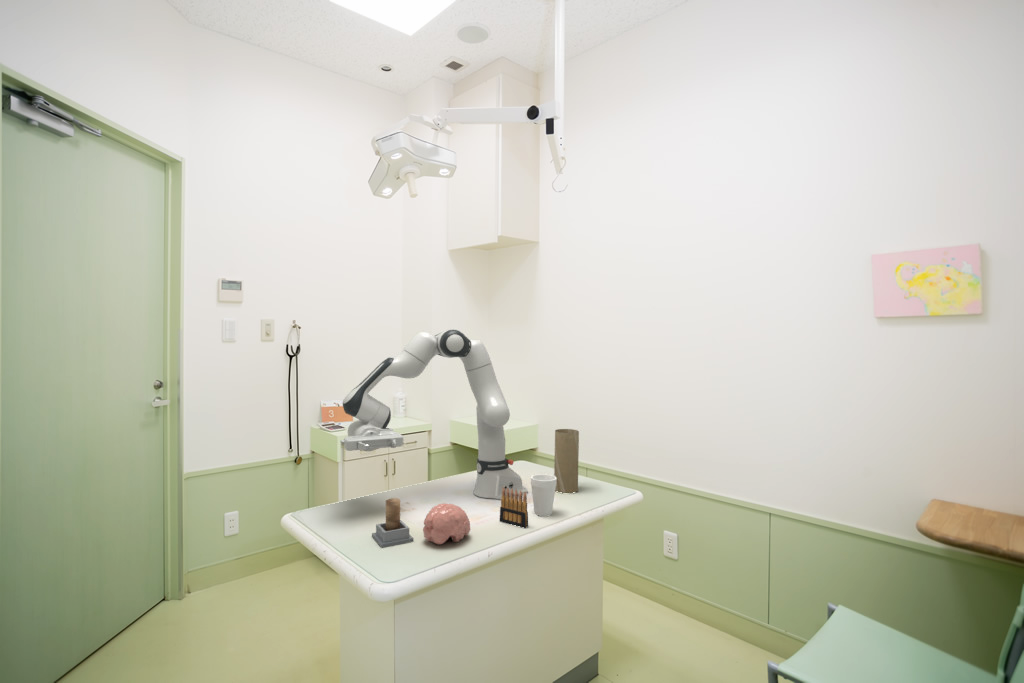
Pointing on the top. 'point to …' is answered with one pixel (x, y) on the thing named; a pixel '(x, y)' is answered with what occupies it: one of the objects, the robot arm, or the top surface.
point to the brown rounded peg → (392, 514)
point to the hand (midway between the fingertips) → (380, 446)
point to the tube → (566, 460)
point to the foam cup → (543, 493)
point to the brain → (446, 523)
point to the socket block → (392, 535)
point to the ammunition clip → (514, 508)
